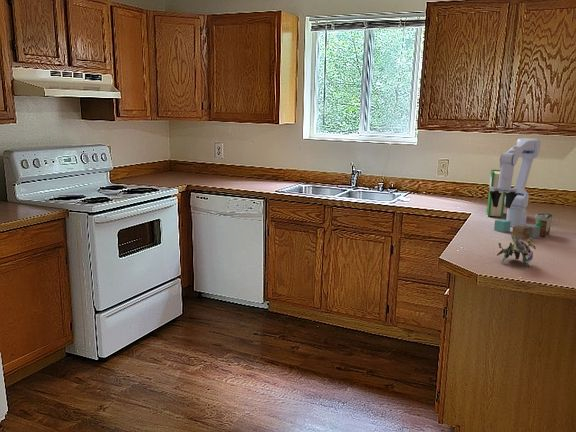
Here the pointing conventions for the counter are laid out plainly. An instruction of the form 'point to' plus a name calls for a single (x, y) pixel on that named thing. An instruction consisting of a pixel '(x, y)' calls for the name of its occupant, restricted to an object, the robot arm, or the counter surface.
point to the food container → (543, 223)
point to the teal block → (502, 225)
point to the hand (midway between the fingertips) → (501, 207)
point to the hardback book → (490, 209)
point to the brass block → (521, 232)
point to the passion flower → (519, 250)
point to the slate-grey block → (534, 231)
